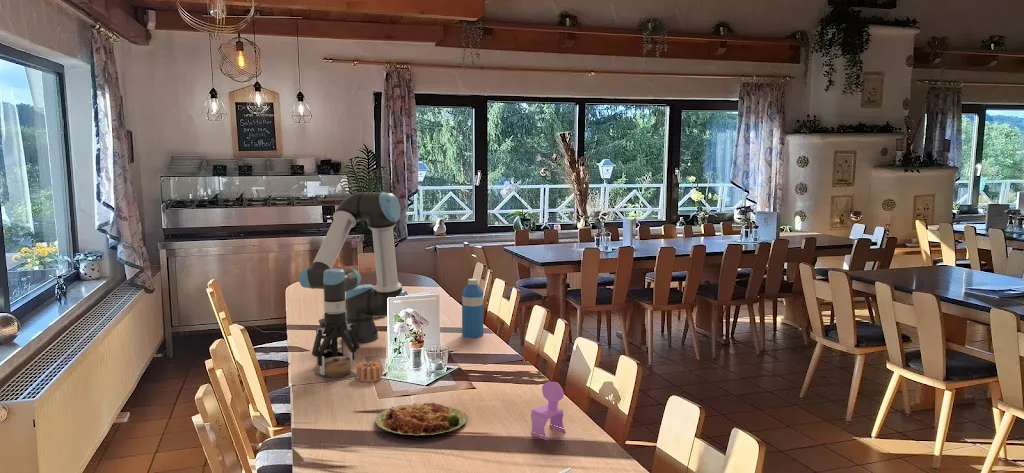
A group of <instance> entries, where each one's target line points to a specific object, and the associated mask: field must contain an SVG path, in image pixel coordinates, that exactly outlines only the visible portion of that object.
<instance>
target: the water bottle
mask: <svg viewBox="0 0 1024 473" xmlns="http://www.w3.org/2000/svg"><path fill="white" fill-rule="evenodd" d="M461 333H462V334H461V335H462V336H463V337H464V338H471V339H476V338H481V337H483V336H484V291H483V289H481V286H479V284H478V278H468V279H467V284H466V286H465V287H464V289H463V290H462V291H461Z"/></svg>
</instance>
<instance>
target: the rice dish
mask: <svg viewBox="0 0 1024 473" xmlns="http://www.w3.org/2000/svg"><path fill="white" fill-rule="evenodd" d="M467 420H468V415H467V414H466V413H465V412H464V411H463V410H460V409H458V408H455V407H452V406H448V405H444V404H441V403H440V404H439V403H436V402H427V403H426V402H423V403H417V402H414V403H413V404H405V405H398V406H395V407H393V406H391V407H390V408H387V409H385V410H383V411H382V412H380V413H378V415H376V417H375V420H374V421H375V422H376V425H377V426H378V428H380V429H382V430H384V431H386V432H390V433H394V434H399V435H412V436H435V435H440V434H444V433H446V432H451V431H454V430H457V429H459V428H461V426H463V425H465V424H466V423H467Z"/></svg>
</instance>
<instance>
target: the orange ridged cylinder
mask: <svg viewBox="0 0 1024 473" xmlns="http://www.w3.org/2000/svg"><path fill="white" fill-rule="evenodd" d="M383 367H384V366H383V364H382V362H379V361H374V362H373V361H372V360H371V361H368V362H366V361H363V362H362V363H361V362H359V363H358V364H356V374H357V376H356V378H357V380H358V381H359V382H362V383H373V382H374V383H375V382H379V381H380V380H381V379H382V377H383V375H384V372H383Z"/></svg>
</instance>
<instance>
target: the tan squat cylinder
mask: <svg viewBox="0 0 1024 473" xmlns="http://www.w3.org/2000/svg"><path fill="white" fill-rule="evenodd" d="M324 361H325V375H323V376H324V377H326V378H342V377H346V376H348V375H350V373H351V371H352V370H350V359H349V358H347V357H346V356H344V357H330V358H326V359H324Z"/></svg>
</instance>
